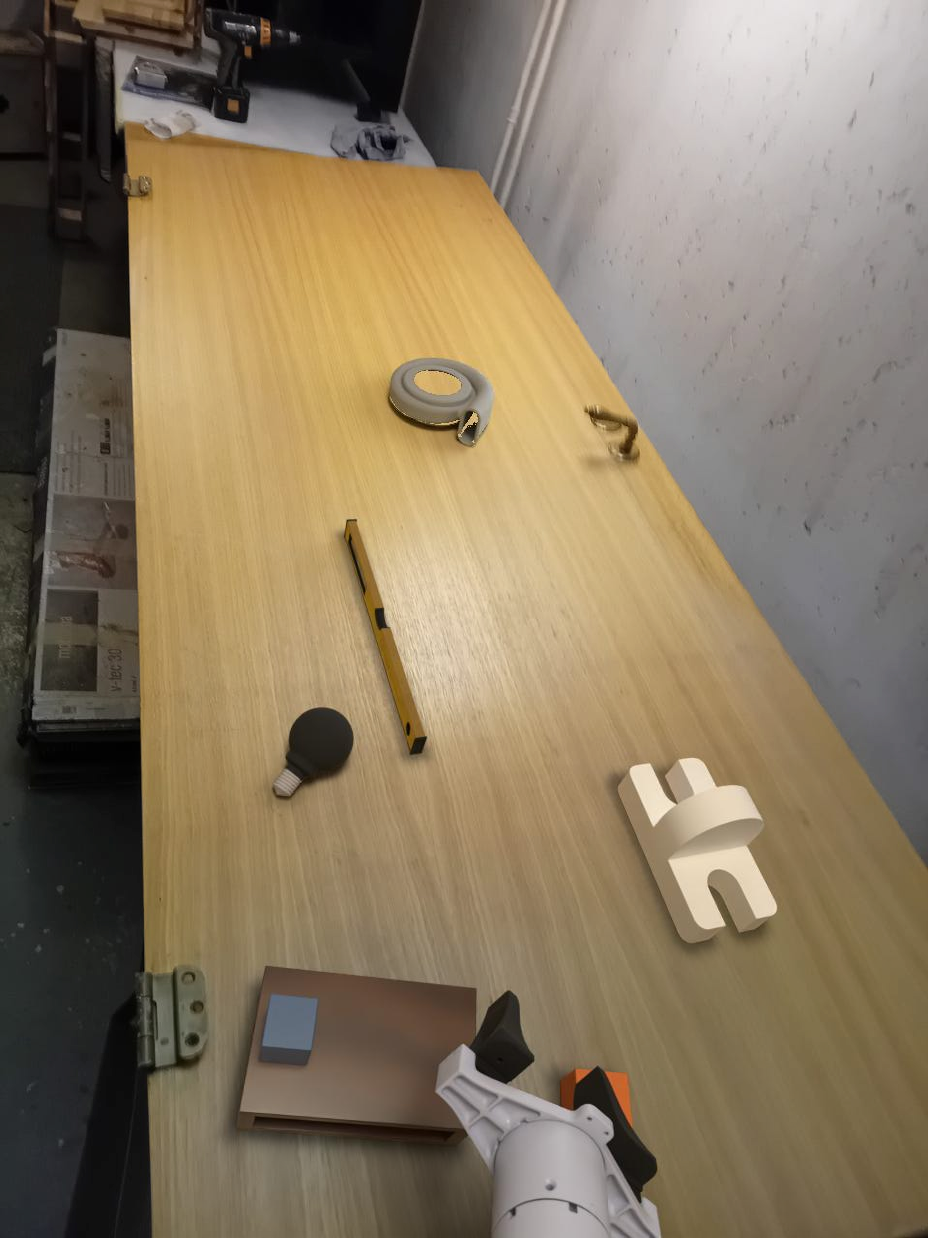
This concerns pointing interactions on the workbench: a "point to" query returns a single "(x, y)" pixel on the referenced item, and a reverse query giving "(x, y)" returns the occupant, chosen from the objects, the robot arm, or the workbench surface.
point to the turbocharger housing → (444, 396)
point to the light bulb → (315, 747)
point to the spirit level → (385, 640)
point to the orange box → (616, 1080)
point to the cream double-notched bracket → (699, 847)
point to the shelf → (361, 1059)
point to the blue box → (289, 1029)
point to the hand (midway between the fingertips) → (546, 1040)
